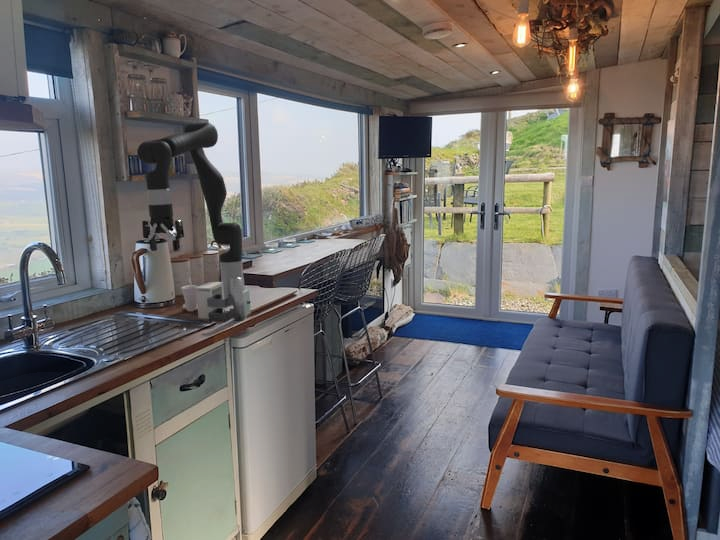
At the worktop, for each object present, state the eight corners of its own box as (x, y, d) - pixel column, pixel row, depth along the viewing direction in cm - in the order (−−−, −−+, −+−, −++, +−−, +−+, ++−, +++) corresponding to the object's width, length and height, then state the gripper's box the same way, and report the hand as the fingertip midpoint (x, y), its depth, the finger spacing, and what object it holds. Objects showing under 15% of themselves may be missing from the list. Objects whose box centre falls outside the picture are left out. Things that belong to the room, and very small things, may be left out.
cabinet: (211, 310, 216) (209, 281, 213) (241, 312, 213) (239, 282, 210) (194, 320, 204) (191, 289, 201) (226, 321, 201) (223, 290, 198)
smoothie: (197, 312, 215) (193, 277, 212) (181, 312, 215) (177, 278, 212) (202, 307, 221) (198, 274, 218) (186, 308, 221) (183, 274, 218)
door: (232, 320, 202) (228, 278, 198) (244, 313, 211) (241, 273, 208) (242, 321, 201) (238, 279, 197) (254, 313, 210) (251, 273, 207)
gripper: (185, 201, 182) (189, 249, 185) (148, 202, 185) (153, 248, 188) (172, 203, 174) (177, 253, 178) (134, 204, 178) (140, 252, 181)
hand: (165, 250), depth 183 cm, fingers open, 8 cm apart
